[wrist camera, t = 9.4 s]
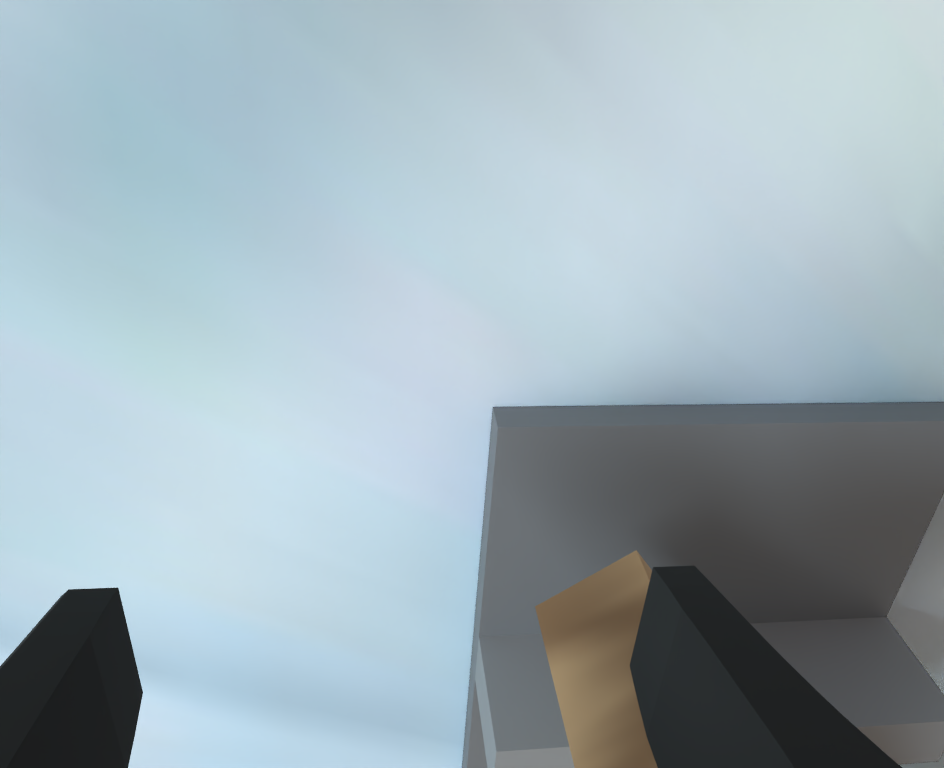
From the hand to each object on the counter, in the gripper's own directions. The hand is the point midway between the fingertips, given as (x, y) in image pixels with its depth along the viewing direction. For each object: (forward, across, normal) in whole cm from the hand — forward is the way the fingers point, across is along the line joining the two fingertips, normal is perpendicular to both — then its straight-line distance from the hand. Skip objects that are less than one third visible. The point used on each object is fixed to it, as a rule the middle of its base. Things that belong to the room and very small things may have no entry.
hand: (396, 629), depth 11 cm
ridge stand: (+10, -10, +12) cm, 19 cm away
